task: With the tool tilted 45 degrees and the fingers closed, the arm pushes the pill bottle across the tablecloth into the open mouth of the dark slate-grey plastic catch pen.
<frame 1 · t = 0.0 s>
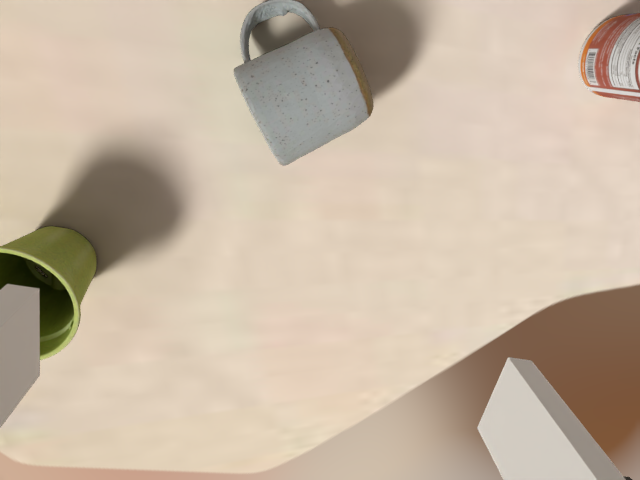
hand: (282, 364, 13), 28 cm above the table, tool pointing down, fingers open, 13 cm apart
plant pot: (63, 256, 41), on the table
pill bottle: (610, 56, 38), on the table
ceramic mug: (292, 76, 37), on the table
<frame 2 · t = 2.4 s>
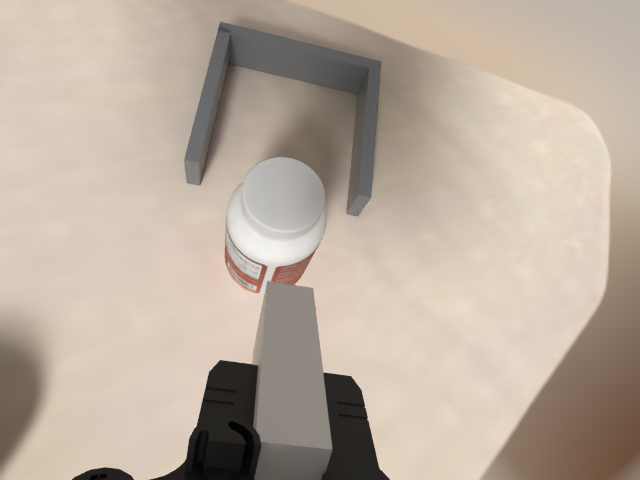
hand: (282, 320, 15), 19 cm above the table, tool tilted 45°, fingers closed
catch pen: (285, 133, 40), on the table
pill bottle: (264, 259, 36), on the table
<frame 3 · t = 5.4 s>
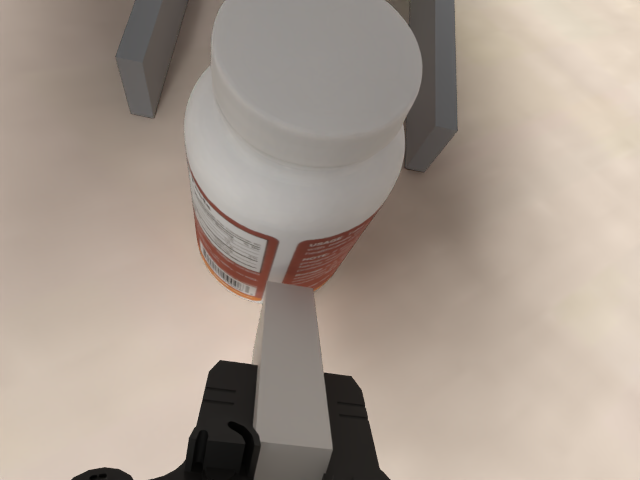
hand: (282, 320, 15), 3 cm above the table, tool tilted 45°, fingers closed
catch pen: (300, 41, 24), on the table
pill bottle: (269, 239, 20), on the table, touching gripper
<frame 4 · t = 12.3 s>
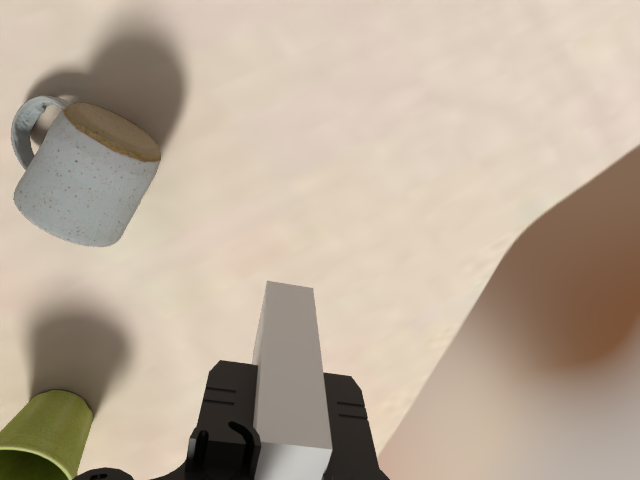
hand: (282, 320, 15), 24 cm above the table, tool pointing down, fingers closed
plant pot: (63, 411, 46), on the table
ceramic mug: (94, 155, 37), on the table
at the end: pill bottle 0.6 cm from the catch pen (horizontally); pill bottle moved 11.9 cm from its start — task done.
